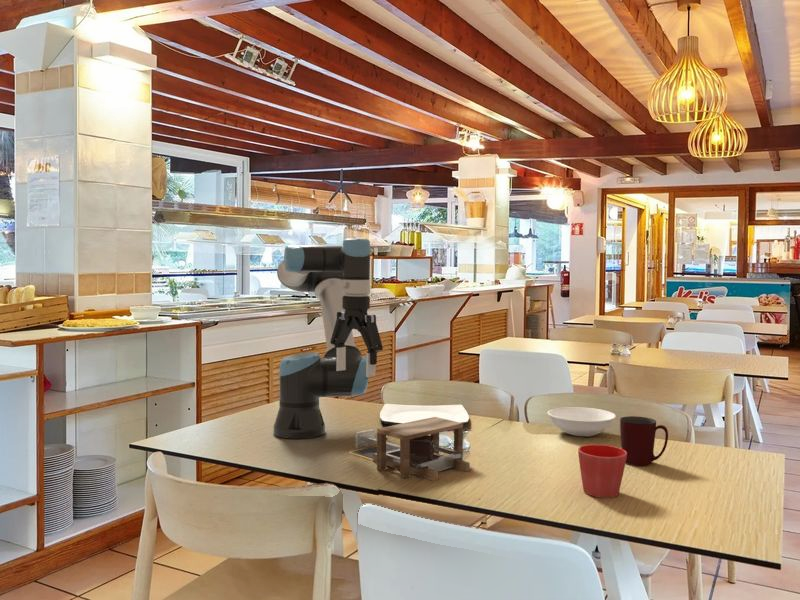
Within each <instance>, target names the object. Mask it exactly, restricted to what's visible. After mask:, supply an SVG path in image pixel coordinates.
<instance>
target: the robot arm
mask: <svg viewBox="0 0 800 600" xmlns="http://www.w3.org/2000/svg"><path fill="white" fill-rule="evenodd" d="M371 254H372V250H371V242H370V240H369V238H344V240H343V241H342V245H314V244H313V245H311V244H309V245H306V244H305V245H303V244H294V245H293V244H291V245H290V244H289V245H286V247H285V248H284V252H283V260H282V261H281V262H280V263H279V265H278V266H277V270H276V275H277V279H278V280H279V282H280V284H282V285H283V286H284V287H285V288H287V289H288V290H289V289H290V290H292V291H295V292H301V293H314V297H315V298H316V299H317V300H318V301H320V308H321V315H322V322H323V329H324V336H325V344H326V348H327V349H326V351H325V353H324V354H323V357H321V356H320V354H319V353H318V352H302V353H296V354H290V355H287V356H286V357H283V358H282V359H281V360H280V362H279V371H278V372H279V373H278V377H279V396H278V397H279V398H278V399H279V402H278V403H279V405H278V406H279V408H278V411H277V415H276V417H275V421H274V424H273V427H272V428H273V429H272V430H273V435H274V436H275V437H278V438H281V439H289V440H290V439H292V440H293V439H294V440H297V439H298V440H299V439H301V440H302V439H303V440H304V439H312V438H317V437H320V436H323V435H324V434H325V433H326V425H325V421H324V418H323V414H322V411H321V408H320V398H328V397H330V398H332V397H334V398H335V397H354V396H356V397H357V396H362V395H364V394H365V393H366V391H367V389H368V385H369V378H371V377H377V376H376V375H377V373H376V370H377V369H376V366H377V363H378V352H381V351H383V349H384V347H383V344H382V341H381V340H382V339H381V337H380V332H379V328H378V326H377V316H376V315H377V314H369V313H368V310H370V308H371V298H370V294H371ZM353 330H357V331H358V332H359V333H360V335H361V336H360V337H362V339H363V342H364V344H365V347H366V349H367V351H366V353H365V355H366V356H365V355H363V356H362V352H361V350H360V348H358V347H357V346H356V345H355V340H354V334H353Z"/></svg>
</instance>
